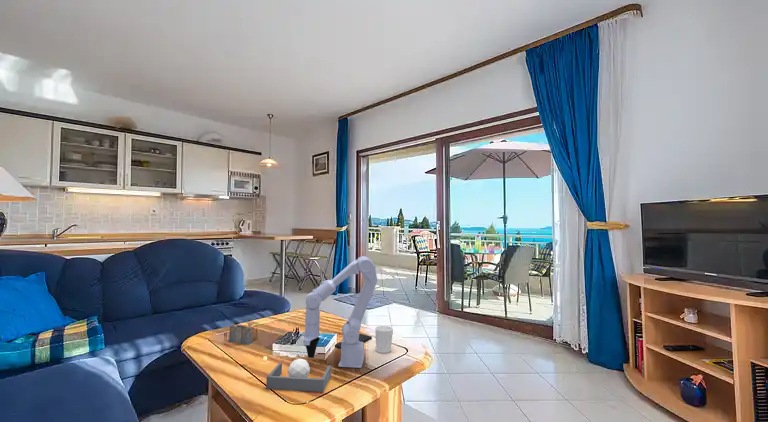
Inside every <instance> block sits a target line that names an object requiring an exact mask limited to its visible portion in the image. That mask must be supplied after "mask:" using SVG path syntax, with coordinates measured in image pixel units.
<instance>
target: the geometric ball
mask: <svg viewBox="0 0 768 422" xmlns="http://www.w3.org/2000/svg"><path fill="white" fill-rule="evenodd" d="M310 371H311V367H310V364H309V362H308V361H307V360H306V359H302V358H298V359H293V361H292V362H291V363H290V365H289V367H288V370H287V374H288V375H287V376H288V377H300V378H309V374H310Z"/></svg>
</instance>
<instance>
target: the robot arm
mask: <svg viewBox="0 0 768 422" xmlns="http://www.w3.org/2000/svg"><path fill="white" fill-rule="evenodd" d="M360 273H361V275H362V277H363V279H364V282H363V285H362V287H361V288H360V289H361V290H360V292H359V295H358V297H357V299H356V301H355V304H354V307H353V309H352V312H351V313H350V316H348V318H347V321H346V322H345V323H344V324H343V326H342V327H341V333H342V335H343V337H342V339H341V341H340V342H341V349H340V361H339V363H338V365H337V367H341V368H356V369H358V368H359V369H361V368H362V367H363V364H364V361H365V343H364V342H360V341H359V334H360V330H361V328H362V327H361V325H362V321H363V318H364V316H365V313H366V311H367V308H368V306H369V303H370V301H371V299H372V295H373V293H374V291H375V288H376V286H377V283H378V276H377V271H376V265H375V264H374V261H373V260H372V259H371V258H369V257H368V256H366V255H362V256H359V257H357V259H355V260H353V261H352V262H350V263H349V264H348V265H347V266H346V267H344V268H343V269H342V270H341V271H340V272H339V273H338V274H337V275H336V276H334V277H333V278H332V279H326V280H323V281H321V284H320V285H319V286H317V287H316V288H313V289H312V292H309V293H308V294H307V295H306V298H305V305H306V306H305V314H304V315H305V316H304V317H305V319H304V332H302V333H301V337H303V338H304V340H303V346H305V348H306V353H307V357H308V358H309V359H310V358H311V359H313V358H314V357H315V355H316V351H317V348H318V344H319V341H320V339H321V337H320V335H321V334H320V322H321V321H320V319H321V318H320V313H321V311H320V305H321V304H322V302H324V301H325V300H327V298H329V297H330V296H331V295H332V294H334V293H335V292H336V290H337V286H339V285H340V284H342V282H344V281H345V280H346V279H348V278H349V277H350V276H351V275H359V274H360Z"/></svg>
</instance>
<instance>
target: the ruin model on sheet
mask: <svg viewBox="0 0 768 422" xmlns="http://www.w3.org/2000/svg"><path fill="white" fill-rule="evenodd" d="M253 325H254V323H253V322H251V323H250V321H249V322H248V323H247V326H245V325H239V324H237V325H236V326H235V324H232V325H229V335H228V336H229V337H228V341H229V342H230V343H231V342H232V343H235V344H236V343H237V344H243V345H247V346H249V345H251V344H253V338H254V337H253V335H254V331H253V330H254V328H253Z"/></svg>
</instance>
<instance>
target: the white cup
mask: <svg viewBox="0 0 768 422" xmlns="http://www.w3.org/2000/svg"><path fill="white" fill-rule="evenodd" d="M374 330H375V331H374V332H375V351H376V352H378V353H380V354H387V353H390V352H392V351H391V350H392V341H393V331H394V330H393V327H392V326H389V325H378V326H376V327H375V329H374Z"/></svg>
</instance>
